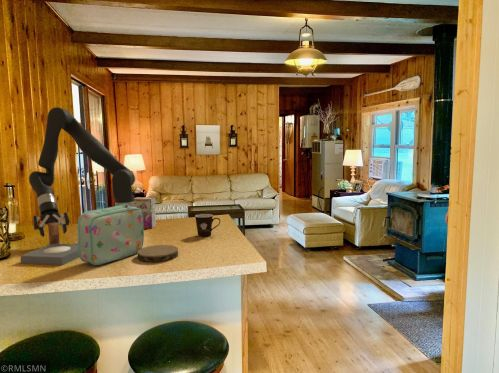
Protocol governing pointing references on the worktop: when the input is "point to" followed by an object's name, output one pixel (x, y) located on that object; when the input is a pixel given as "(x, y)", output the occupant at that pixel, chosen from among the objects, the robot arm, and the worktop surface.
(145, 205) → the candy bar box
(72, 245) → the plate
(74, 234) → the worktop surface
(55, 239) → the handle
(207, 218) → the coffee mug
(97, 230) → the lunch box
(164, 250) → the wood slice
